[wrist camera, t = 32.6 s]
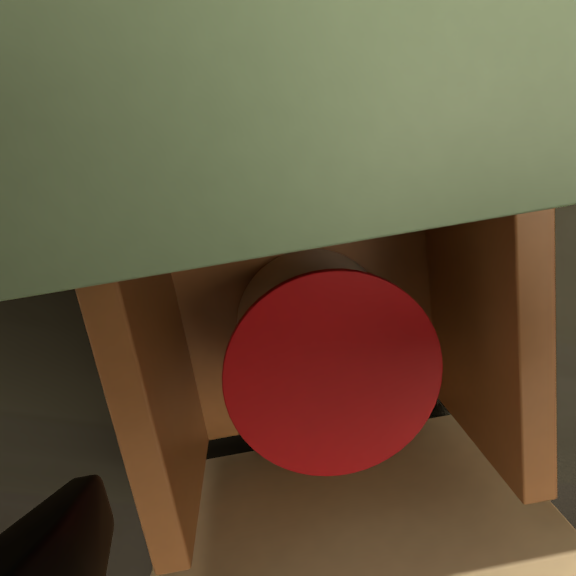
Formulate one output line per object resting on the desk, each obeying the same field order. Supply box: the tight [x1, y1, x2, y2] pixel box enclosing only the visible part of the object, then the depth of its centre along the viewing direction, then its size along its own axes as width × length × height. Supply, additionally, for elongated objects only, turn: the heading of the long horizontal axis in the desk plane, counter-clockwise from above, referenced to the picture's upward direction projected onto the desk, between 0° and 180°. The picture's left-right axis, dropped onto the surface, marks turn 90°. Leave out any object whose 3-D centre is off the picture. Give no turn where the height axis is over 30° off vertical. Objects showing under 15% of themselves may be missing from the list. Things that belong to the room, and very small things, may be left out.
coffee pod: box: [222, 249, 443, 476], centre depth 13 cm, size 5×5×4 cm
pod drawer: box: [75, 208, 576, 576], centre depth 13 cm, size 18×10×6 cm, turn 9°
